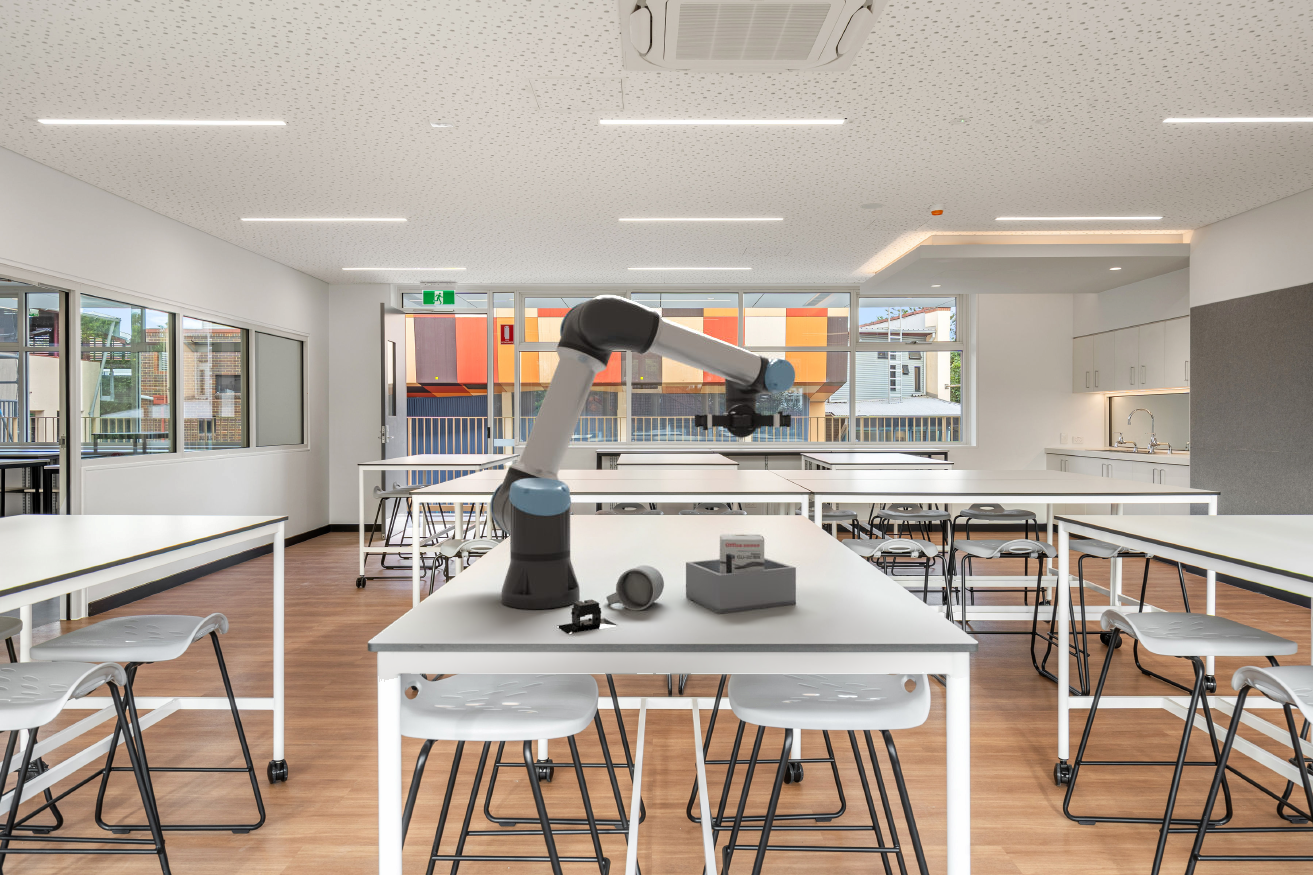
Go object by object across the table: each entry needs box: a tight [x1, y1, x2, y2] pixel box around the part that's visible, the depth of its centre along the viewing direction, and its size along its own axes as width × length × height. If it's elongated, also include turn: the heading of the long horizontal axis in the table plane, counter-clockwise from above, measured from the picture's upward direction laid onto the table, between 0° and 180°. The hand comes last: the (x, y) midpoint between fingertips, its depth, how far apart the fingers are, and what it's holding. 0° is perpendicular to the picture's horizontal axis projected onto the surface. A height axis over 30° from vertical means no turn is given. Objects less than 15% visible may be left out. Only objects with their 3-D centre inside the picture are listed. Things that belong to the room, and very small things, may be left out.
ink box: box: [719, 533, 765, 574], centre depth 141 cm, size 8×5×12 cm, turn 88°
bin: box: [685, 557, 797, 615], centre depth 141 cm, size 14×17×7 cm
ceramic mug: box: [606, 565, 665, 611], centre depth 138 cm, size 11×8×8 cm
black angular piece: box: [557, 599, 619, 635], centre depth 124 cm, size 12×7×5 cm, turn 121°
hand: (743, 420), depth 145 cm, fingers open, 13 cm apart
